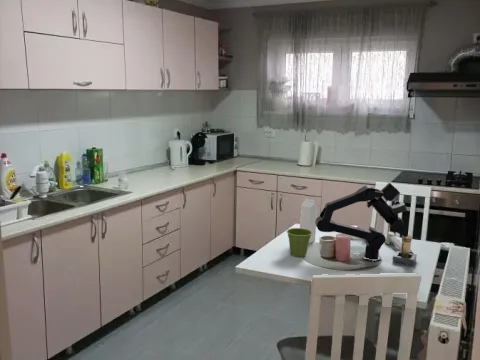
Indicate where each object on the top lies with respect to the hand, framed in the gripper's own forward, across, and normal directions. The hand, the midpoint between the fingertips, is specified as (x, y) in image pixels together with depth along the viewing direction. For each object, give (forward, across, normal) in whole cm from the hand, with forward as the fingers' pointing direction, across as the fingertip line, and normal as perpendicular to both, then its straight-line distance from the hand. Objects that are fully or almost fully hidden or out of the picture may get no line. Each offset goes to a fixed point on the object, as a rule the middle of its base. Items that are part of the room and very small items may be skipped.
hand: (405, 233), depth 214 cm
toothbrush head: (+11, +17, +9) cm, 22 cm away
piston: (+10, 0, +9) cm, 14 cm away
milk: (-21, +19, +40) cm, 49 cm away
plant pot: (-24, -2, +44) cm, 50 cm away
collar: (+10, 0, +9) cm, 14 cm away
